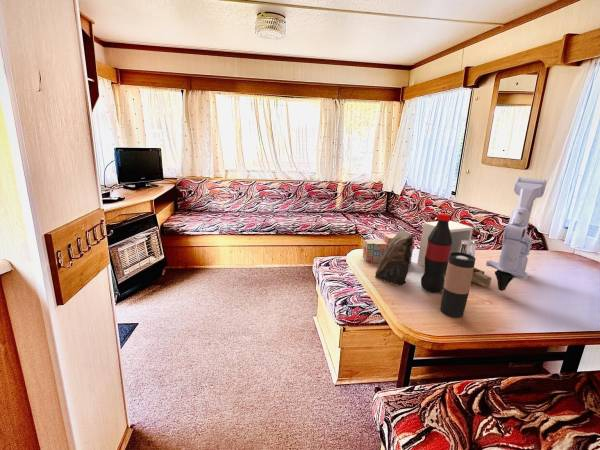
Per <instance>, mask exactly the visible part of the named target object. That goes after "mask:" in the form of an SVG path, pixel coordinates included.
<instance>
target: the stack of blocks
mask: <svg viewBox="0 0 600 450" xmlns="http://www.w3.org/2000/svg"><path fill="white" fill-rule="evenodd" d="M396 234H397V233H396ZM396 234H394V233H393V234H392V233H391V234H390V233H384V234H383V239H364V243H363V250H362V251H363V252H362V259H363V260H364V262H365V263H379V262H380V260H381V258H382V256H383V254H384V252H385V250H386V249H387V246H388V244H389V242H390V241H391V240H392V239H393V237H394V236H395V235H396ZM412 241H413V245H412V247H411V257H410V259H409V260H410V265H411V263H412V255H413V251H414V243H415V237H414V238H413V240H412Z"/></svg>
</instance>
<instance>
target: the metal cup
mask: <svg viewBox="0 0 600 450" xmlns="http://www.w3.org/2000/svg"><path fill="white" fill-rule="evenodd" d="M476 250H477V243H476V242H474V241H472V240H471V241H468V240H460V241H459V243H458V247H457V251H456V252H459V253H465V254H469V255H471V256H473V257H475V255H476Z"/></svg>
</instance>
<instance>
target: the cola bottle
mask: <svg viewBox="0 0 600 450" xmlns="http://www.w3.org/2000/svg"><path fill="white" fill-rule="evenodd" d="M437 221H438V223H437V225H436V226H435V228H434V229H433V230H432V232H431V233H430V235H429V237H428V243H427V249H426V255H425V267H424V272H423V274H422V275H421V278H420V286H421V289H423V290H424V291H426V292H428V293H432V294H438V293H440V292H443V286H444V281H445V275H446V274H445V271H446V269H447V266H448V260H449V255H450V251H451V246H452V242H453V241H452V236H451V232H450V229H449V224H448V222H450V221H451V214H448V213H444V212H442V213H441V212H439V213H438V216H437Z"/></svg>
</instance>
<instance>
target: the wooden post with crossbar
mask: <svg viewBox="0 0 600 450" xmlns="http://www.w3.org/2000/svg"><path fill="white" fill-rule="evenodd" d="M446 271H447V269H446ZM446 271H445V274H444V275H446ZM471 283H474V284H477V285H479V286H482V287H483V288H487V287H490V286H491V283H492V277H491V276H489V275H487V274H485V271H484V270H481V269H479V268H477V267H474V270H473V275H472V280H471Z"/></svg>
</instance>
